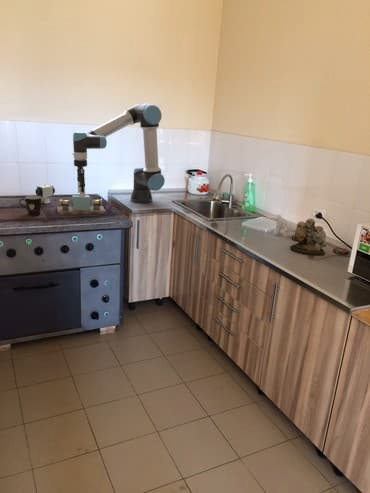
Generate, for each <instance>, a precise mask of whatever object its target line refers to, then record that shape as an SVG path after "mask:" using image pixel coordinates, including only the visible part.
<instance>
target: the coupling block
mask: <svg viewBox="0 0 370 493" xmlns="http://www.w3.org/2000/svg"><path fill="white" fill-rule="evenodd" d="M70 203H71V207H72V209H73V210H90V206H91V196H90V195H89V194H85V198H80V194H79V195H78V194H72V196H71V201H70Z"/></svg>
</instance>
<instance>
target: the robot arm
mask: <svg viewBox="0 0 370 493" xmlns="http://www.w3.org/2000/svg"><path fill="white" fill-rule="evenodd" d="M162 115H163V114H162V112H161V109H160V107H158V105H155V104H152V103H138V104H135V105H133V106H131V107H130V108H128V109H126V110H124V112H123V113H122V114H120V115H118V116H116V117H114V118H112V119H110V120H109V121H107V122H105V123H103V124H101V125H99V126H97V127H95V128H94V129H91V130H90V131H88V132H86V131H74V132H73V135H72V141H73V145H72V146H73V153H72V155H73V166H74V167H77V169H76V172H77V177H76V179H77V181H76V182H77V193H79V195H80V198H85V195H86V180H85V179H86V178H85V169H84V168H86V167H88V160H87V159H88V150H93V149H95V150H96V149H97V150H98V149H99V150H101V149H105V148H106V147H107V144H108V143H107V137H109V136H111V135H112V134H114V133H117V132H118V131H120V130H122V129H124V128H126V127H128V126H133V125H135V124H139V126H140V127H139V128H141V129H142V134H143V149H144V150H143V151H144V152H143V153H144V167H134V170H133V190H132V192H131V195H130V201H131V202H133V203H139V204H147V203H148V204H149V203H152V202H153V196H152V191H155V192H157V191H160V190H161V189H162V188H163V187H164V185H165V177H164V175H163V174H162V168H160V167H159V152H158V150H159V148H158V135H157V133H158V132H157V130H158V128H159V127H160V126H159V125H160V124H159V123H161V122H160V121H162Z"/></svg>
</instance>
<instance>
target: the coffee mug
mask: <svg viewBox="0 0 370 493" xmlns="http://www.w3.org/2000/svg"><path fill="white" fill-rule="evenodd" d="M22 200H23V201H24V202H25V203H26V206H25V205H23V204H22V203H21V201H22ZM41 200H42V197H40V196H37V195H27V196H25V197H24V198H20V199H19V201H18V202H19V205H20V206H21V207H23V208H24V209H26V210H27V214H28V216H31V217H32V216H33V217H36V216H37V217H38V216H40V215H41V206H42V202H41Z"/></svg>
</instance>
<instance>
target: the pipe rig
mask: <svg viewBox="0 0 370 493" xmlns="http://www.w3.org/2000/svg"><path fill="white" fill-rule="evenodd" d="M58 201H59V207H62V210H69V207H70V200H68V199H66V200H65V199H64V200H63V199H61V198H59V200H58ZM92 206H93V209H94V210H100V206H103V199H102V198H99V199H92Z"/></svg>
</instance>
